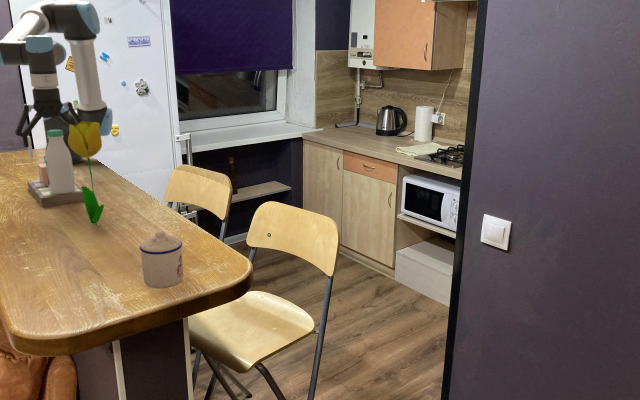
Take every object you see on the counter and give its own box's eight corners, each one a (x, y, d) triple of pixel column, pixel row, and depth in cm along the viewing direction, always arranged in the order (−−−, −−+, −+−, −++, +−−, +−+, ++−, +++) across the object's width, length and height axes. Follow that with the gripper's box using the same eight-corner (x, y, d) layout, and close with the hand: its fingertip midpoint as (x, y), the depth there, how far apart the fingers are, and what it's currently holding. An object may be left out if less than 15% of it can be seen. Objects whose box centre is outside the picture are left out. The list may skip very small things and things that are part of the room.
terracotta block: (40, 180, 185) (37, 164, 184) (58, 178, 189) (56, 162, 187) (43, 184, 181) (41, 167, 179) (62, 182, 184) (60, 165, 182)
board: (28, 189, 187) (27, 180, 186) (68, 183, 194) (67, 175, 193) (42, 207, 168) (41, 197, 167) (85, 200, 176) (84, 191, 175)
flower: (117, 222, 156) (107, 120, 147) (99, 231, 149) (87, 124, 140) (92, 219, 159) (80, 118, 150) (73, 228, 151) (59, 122, 142)
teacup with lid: (187, 285, 119) (184, 236, 115) (145, 292, 115) (140, 241, 112) (178, 264, 129) (175, 218, 126) (139, 270, 126) (134, 223, 122)
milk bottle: (80, 189, 177) (73, 129, 171) (63, 195, 170) (55, 133, 164) (62, 186, 179) (54, 127, 173) (44, 193, 172) (35, 131, 166)
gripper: (1, 90, 156) (12, 161, 162) (90, 86, 170) (98, 152, 177) (-3, 88, 161) (8, 156, 168) (84, 84, 176) (91, 147, 182)
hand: (54, 154), depth 172 cm, fingers open, 13 cm apart
